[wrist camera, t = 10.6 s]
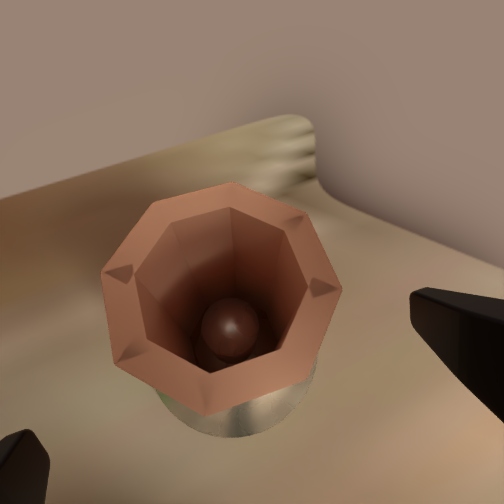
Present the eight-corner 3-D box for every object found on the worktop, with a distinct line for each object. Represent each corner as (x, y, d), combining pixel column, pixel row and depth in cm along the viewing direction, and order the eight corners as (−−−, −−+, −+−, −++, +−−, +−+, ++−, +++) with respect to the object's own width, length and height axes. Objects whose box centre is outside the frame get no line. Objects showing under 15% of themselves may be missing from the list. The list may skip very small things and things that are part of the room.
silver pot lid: (338, 307, 20) (364, 281, 16) (273, 472, 16) (283, 499, 12) (203, 244, 22) (193, 205, 17) (117, 382, 18) (76, 376, 14)
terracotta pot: (306, 315, 19) (363, 236, 10) (259, 425, 16) (276, 457, 7) (211, 269, 20) (183, 161, 11) (154, 366, 18) (55, 331, 8)
